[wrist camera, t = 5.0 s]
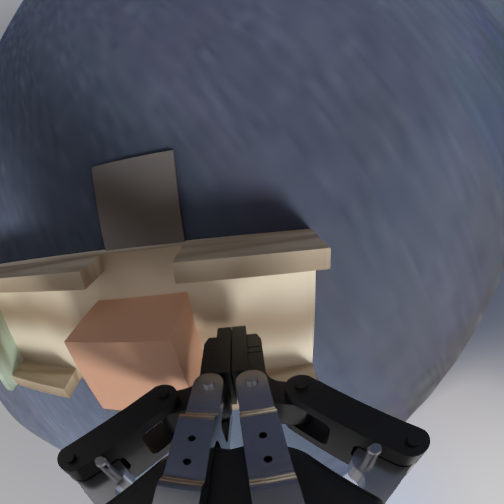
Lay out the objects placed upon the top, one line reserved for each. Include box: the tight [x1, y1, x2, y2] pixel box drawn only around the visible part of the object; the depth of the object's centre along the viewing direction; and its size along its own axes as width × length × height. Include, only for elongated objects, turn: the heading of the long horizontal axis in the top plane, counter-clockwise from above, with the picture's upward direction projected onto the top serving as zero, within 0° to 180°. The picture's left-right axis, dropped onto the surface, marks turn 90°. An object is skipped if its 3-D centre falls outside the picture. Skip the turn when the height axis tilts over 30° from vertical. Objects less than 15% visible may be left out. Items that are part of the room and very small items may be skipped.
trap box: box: [0, 150, 331, 412], centre depth 14 cm, size 20×26×4 cm
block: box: [64, 292, 203, 410], centre depth 13 cm, size 5×6×4 cm
